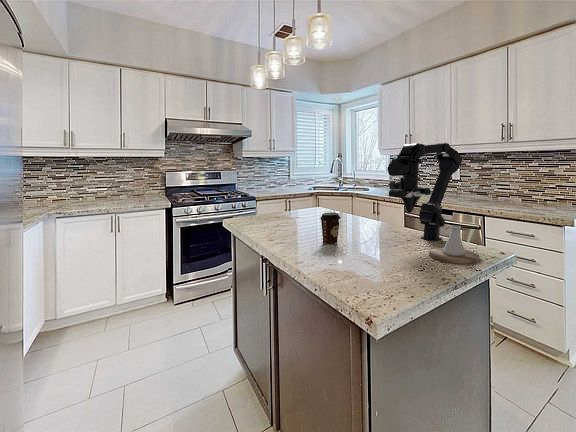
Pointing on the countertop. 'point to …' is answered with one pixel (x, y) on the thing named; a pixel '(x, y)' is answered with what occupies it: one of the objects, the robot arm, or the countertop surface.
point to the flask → (454, 243)
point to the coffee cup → (330, 227)
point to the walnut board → (454, 257)
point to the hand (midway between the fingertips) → (409, 213)
